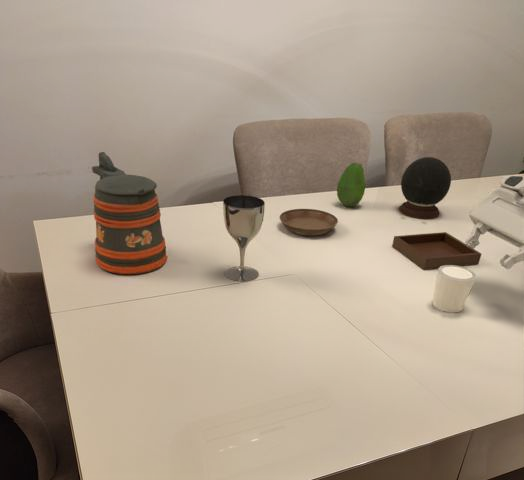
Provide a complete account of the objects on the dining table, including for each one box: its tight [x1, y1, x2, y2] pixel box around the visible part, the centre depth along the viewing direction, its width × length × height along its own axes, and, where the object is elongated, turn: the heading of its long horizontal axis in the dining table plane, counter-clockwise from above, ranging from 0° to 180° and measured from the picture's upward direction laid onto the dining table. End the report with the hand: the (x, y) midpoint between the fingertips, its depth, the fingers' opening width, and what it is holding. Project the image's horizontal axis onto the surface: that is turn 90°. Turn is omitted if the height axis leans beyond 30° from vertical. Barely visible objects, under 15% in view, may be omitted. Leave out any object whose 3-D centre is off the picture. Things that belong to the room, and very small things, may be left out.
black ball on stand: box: [398, 156, 452, 220], centre depth 139 cm, size 13×13×15 cm
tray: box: [391, 231, 482, 271], centre depth 117 cm, size 15×14×3 cm
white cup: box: [432, 265, 477, 313], centre depth 95 cm, size 7×7×7 cm
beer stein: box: [91, 151, 168, 275], centre depth 102 cm, size 19×15×20 cm
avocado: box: [336, 162, 366, 208], centre depth 142 cm, size 8×8×12 cm
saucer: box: [279, 208, 339, 237], centre depth 127 cm, size 15×15×3 cm
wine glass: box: [222, 194, 266, 282], centre depth 100 cm, size 8×8×15 cm
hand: (485, 255), depth 93 cm, fingers open, 8 cm apart
